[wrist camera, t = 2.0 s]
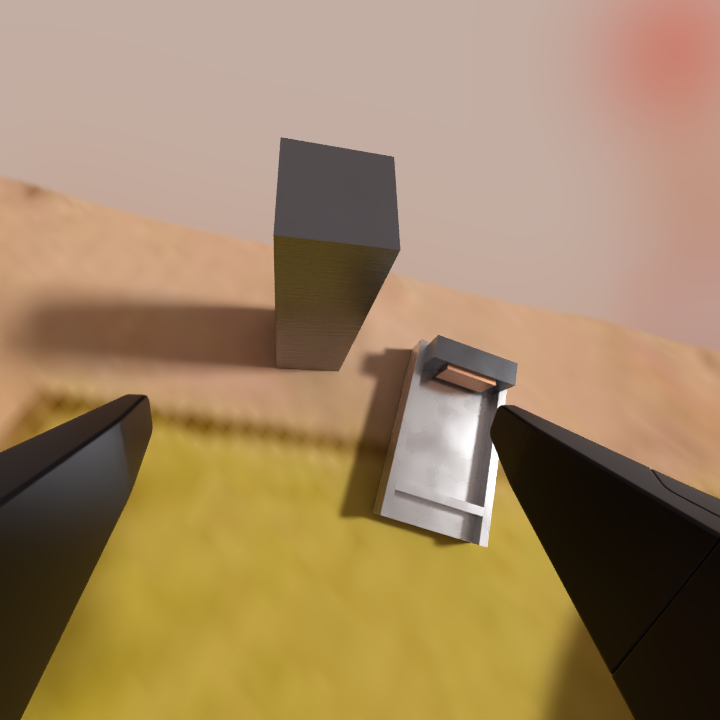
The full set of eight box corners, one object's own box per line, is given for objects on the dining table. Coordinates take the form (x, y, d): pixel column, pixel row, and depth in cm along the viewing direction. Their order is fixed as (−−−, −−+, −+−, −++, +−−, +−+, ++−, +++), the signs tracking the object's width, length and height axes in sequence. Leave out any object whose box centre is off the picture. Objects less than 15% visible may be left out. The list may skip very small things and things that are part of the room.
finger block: (338, 370, 24) (400, 249, 12) (276, 368, 23) (273, 235, 11) (338, 312, 25) (393, 151, 13) (280, 308, 24) (281, 131, 12)
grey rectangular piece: (471, 542, 22) (505, 552, 19) (372, 512, 21) (389, 517, 18) (494, 378, 26) (524, 362, 23) (412, 349, 25) (431, 328, 22)
